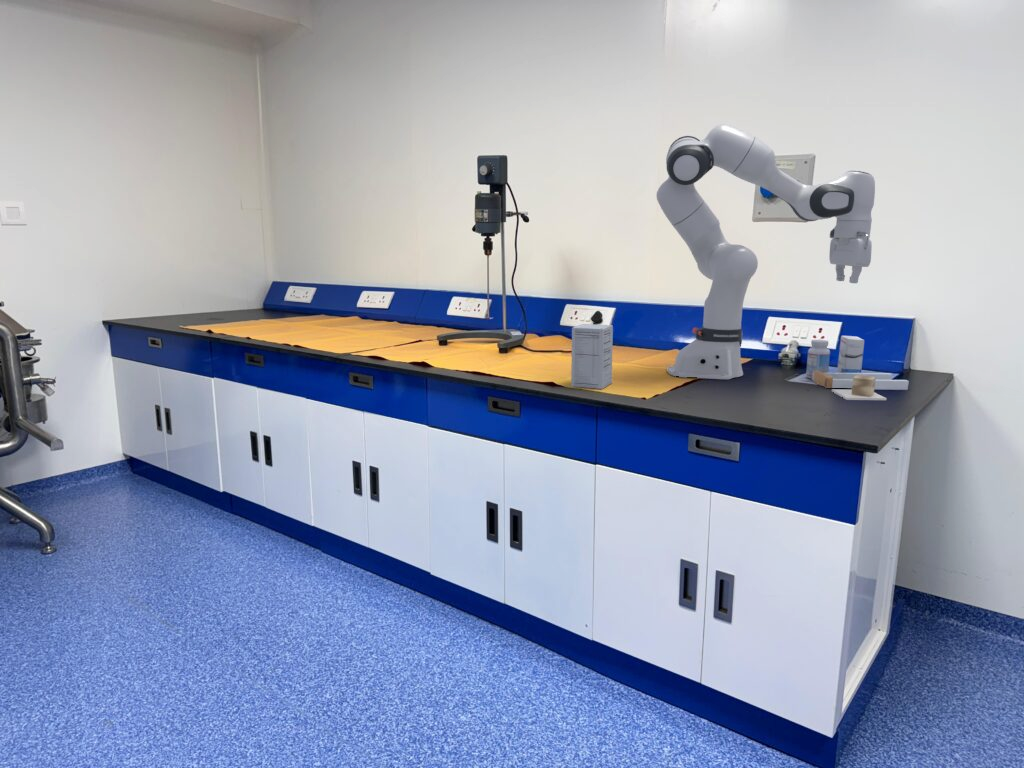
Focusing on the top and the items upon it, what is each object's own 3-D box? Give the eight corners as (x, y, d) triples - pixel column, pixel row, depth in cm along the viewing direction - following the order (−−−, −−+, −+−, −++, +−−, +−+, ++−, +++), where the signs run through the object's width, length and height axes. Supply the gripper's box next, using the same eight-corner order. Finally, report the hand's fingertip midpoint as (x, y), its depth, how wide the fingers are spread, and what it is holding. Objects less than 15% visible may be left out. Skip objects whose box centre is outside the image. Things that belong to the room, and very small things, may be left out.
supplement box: (612, 383, 200) (614, 324, 197) (602, 389, 192) (604, 328, 188) (580, 380, 204) (582, 323, 200) (569, 386, 196) (571, 326, 192)
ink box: (861, 378, 208) (865, 339, 206) (843, 378, 209) (847, 339, 207) (853, 373, 216) (857, 335, 214) (836, 372, 217) (840, 335, 215)
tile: (846, 399, 181) (846, 397, 181) (831, 391, 191) (831, 389, 191) (886, 400, 181) (886, 398, 180) (868, 392, 190) (869, 389, 190)
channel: (826, 388, 194) (827, 377, 194) (811, 380, 205) (812, 369, 204) (907, 389, 193) (909, 378, 192) (888, 381, 204) (890, 371, 203)
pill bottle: (826, 376, 211) (830, 339, 209) (828, 380, 205) (832, 342, 203) (805, 375, 213) (808, 338, 211) (806, 379, 207) (809, 341, 205)
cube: (851, 394, 185) (853, 377, 184) (855, 391, 188) (857, 375, 187) (870, 396, 182) (872, 379, 181) (873, 393, 185) (875, 377, 184)
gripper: (880, 232, 184) (874, 284, 187) (849, 232, 204) (844, 280, 207) (856, 231, 185) (849, 284, 187) (827, 232, 205) (822, 279, 207)
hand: (846, 282), depth 197 cm, fingers open, 8 cm apart
